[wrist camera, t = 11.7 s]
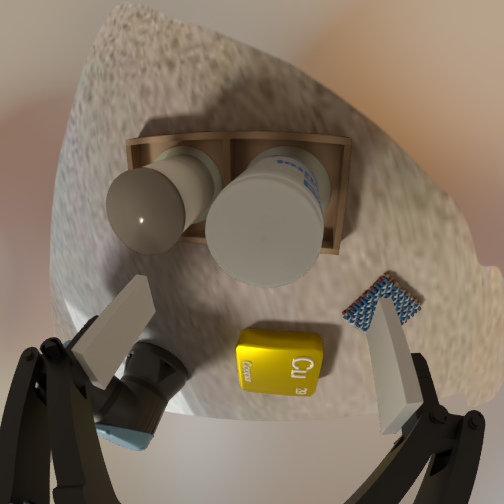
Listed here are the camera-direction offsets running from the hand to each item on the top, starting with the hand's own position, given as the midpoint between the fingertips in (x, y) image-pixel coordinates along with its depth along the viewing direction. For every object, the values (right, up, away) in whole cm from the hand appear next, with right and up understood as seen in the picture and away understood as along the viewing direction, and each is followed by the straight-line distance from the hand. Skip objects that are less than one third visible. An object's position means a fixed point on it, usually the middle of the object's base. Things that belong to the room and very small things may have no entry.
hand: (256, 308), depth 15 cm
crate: (-3, +12, +21) cm, 24 cm away
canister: (-10, +12, +21) cm, 26 cm away
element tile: (+5, -17, +35) cm, 39 cm away
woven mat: (+21, -6, +26) cm, 34 cm away
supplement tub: (+3, +11, +19) cm, 22 cm away
